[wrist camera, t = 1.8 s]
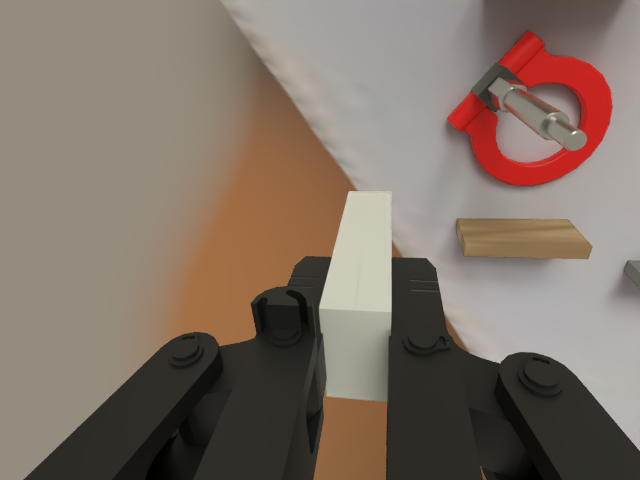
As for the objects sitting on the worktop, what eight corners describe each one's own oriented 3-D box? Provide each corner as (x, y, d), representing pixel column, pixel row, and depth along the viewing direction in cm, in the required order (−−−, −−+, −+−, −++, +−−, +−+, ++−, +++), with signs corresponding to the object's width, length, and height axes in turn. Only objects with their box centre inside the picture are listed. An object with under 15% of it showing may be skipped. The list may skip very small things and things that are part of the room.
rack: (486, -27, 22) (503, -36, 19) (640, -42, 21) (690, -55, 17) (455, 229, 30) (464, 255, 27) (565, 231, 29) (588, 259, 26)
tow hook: (632, 110, 25) (536, 14, 23) (831, 191, 14) (681, 21, 12) (523, 200, 29) (434, 125, 27) (612, 317, 18) (473, 207, 16)
